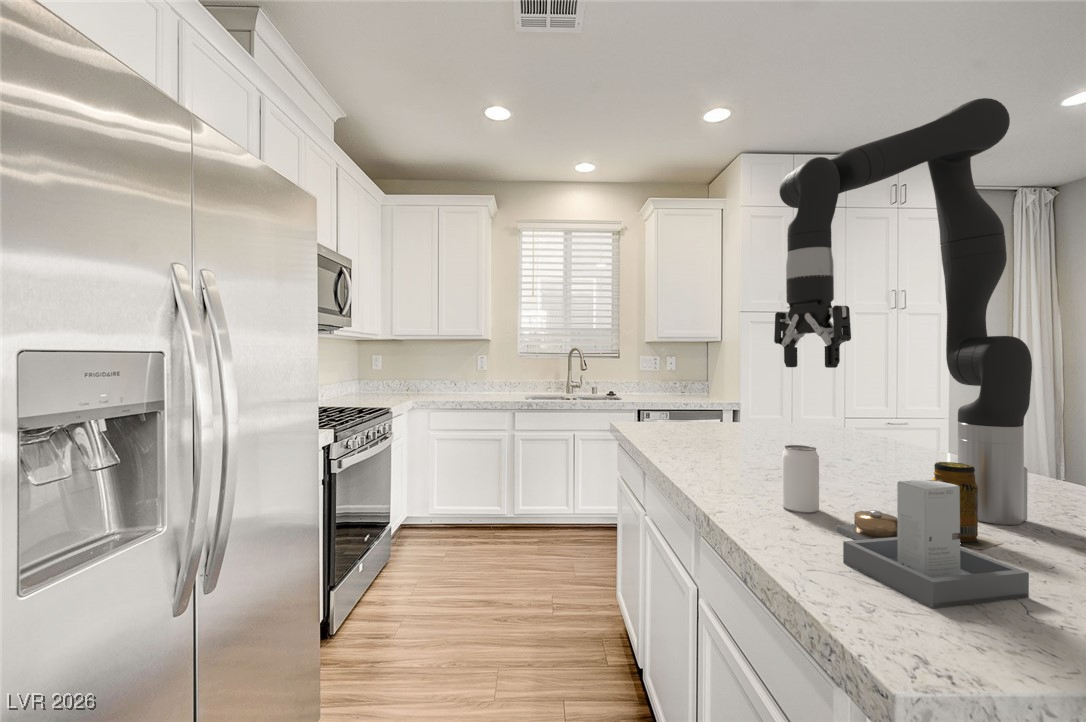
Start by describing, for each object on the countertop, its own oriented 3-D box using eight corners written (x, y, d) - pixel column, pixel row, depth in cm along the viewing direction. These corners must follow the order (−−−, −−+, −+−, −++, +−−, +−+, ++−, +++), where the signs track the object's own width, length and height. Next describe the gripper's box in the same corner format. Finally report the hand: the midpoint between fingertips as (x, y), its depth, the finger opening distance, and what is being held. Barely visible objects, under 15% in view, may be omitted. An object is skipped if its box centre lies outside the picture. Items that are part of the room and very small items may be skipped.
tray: (925, 555, 78) (925, 534, 78) (1028, 597, 64) (1028, 572, 64) (843, 562, 75) (843, 541, 75) (933, 608, 62) (933, 582, 62)
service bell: (876, 528, 90) (876, 503, 90) (918, 544, 83) (918, 517, 83) (836, 531, 89) (836, 506, 89) (874, 548, 81) (874, 520, 81)
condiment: (942, 528, 91) (943, 458, 91) (1003, 543, 83) (1003, 468, 83) (918, 534, 88) (918, 462, 87) (978, 551, 80) (978, 472, 80)
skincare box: (926, 583, 67) (926, 488, 67) (894, 569, 72) (894, 480, 71) (963, 577, 69) (963, 485, 69) (930, 564, 73) (930, 478, 73)
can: (823, 514, 98) (823, 450, 98) (786, 512, 100) (786, 449, 100) (813, 505, 105) (813, 445, 105) (778, 503, 106) (778, 444, 106)
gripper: (861, 271, 88) (862, 367, 88) (793, 282, 101) (794, 366, 101) (828, 268, 85) (829, 368, 86) (763, 281, 99) (764, 367, 99)
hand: (810, 367), depth 93 cm, fingers open, 8 cm apart
